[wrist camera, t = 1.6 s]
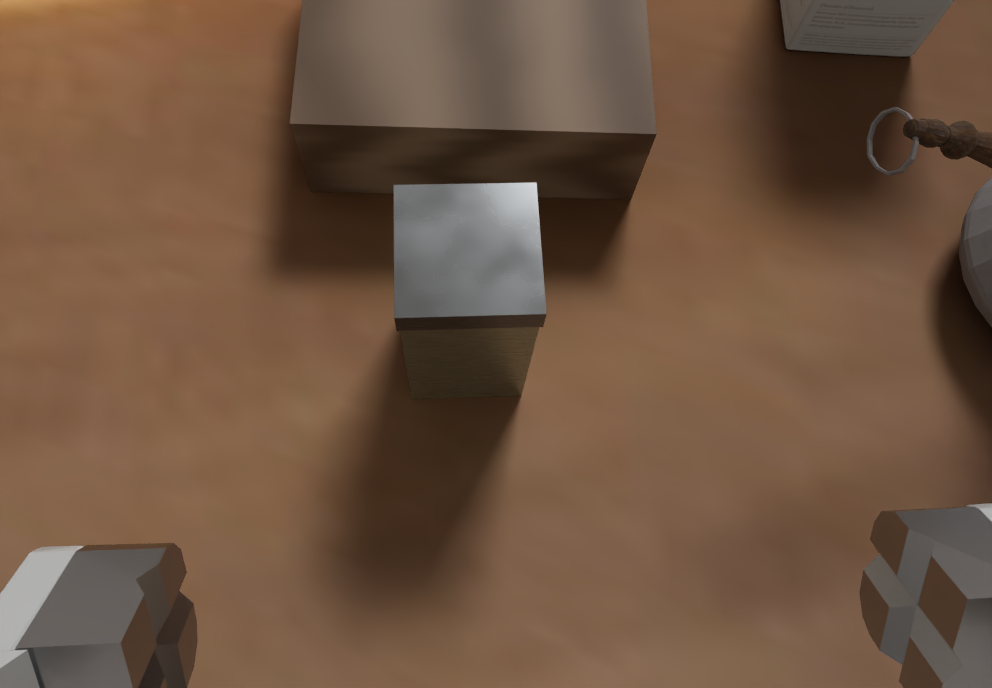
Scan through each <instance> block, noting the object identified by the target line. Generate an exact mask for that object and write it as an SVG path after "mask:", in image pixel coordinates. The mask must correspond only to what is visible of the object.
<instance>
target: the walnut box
mask: <svg viewBox="0 0 992 688" xmlns="http://www.w3.org/2000/svg"><path fill="white" fill-rule="evenodd" d="M290 126H291V130H292V133H293V136H294V139H295V142H296V146H297V149H298V152H299V155H300V158H301V161H302V165H303V168H304V171H305V174H306V177H307V180H308V184H309V187H310V190H311V192H350V193H389V194H394V185H421V184H479V183H537V195H538V197H548V198H587V199H627V200H631V198H632V195H633V193H634V190H635V188H636V185H637V183H638V180H639V178H640V175H641V172H642V170H643V167H644V165H645V162H646V160H647V157H648V154H649V152H650V149H651V147H652V144H653V142H654V139H655V137H656V121H655V109H654V96H653V83H652V70H651V57H650V45H649V32H648V19H647V6H646V0H302V9H301V19H300V29H299V38H298V48H297V57H296V67H295V77H294V86H293V96H292V105H291V115H290Z"/></svg>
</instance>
